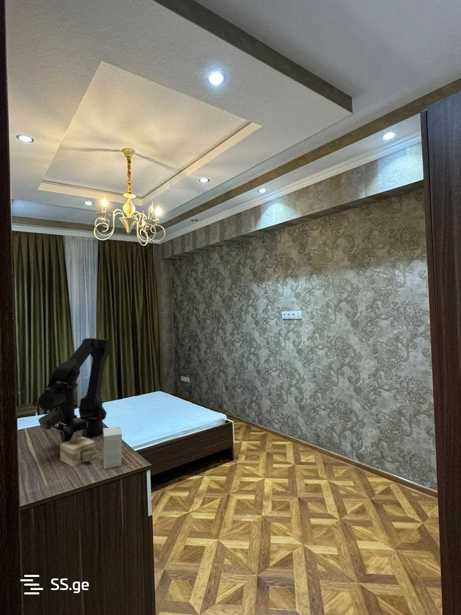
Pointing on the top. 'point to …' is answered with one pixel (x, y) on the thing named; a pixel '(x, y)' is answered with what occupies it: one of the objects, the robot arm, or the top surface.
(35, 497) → the top surface
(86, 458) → the pin
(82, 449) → the block
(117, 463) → the small box
